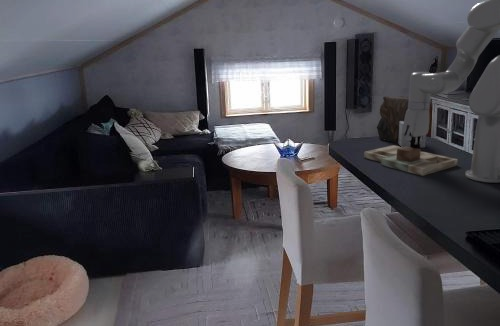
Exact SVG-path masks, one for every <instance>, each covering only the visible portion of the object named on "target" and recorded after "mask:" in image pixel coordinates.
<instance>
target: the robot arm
mask: <svg viewBox="0 0 500 326" xmlns="http://www.w3.org/2000/svg"><path fill="white" fill-rule="evenodd" d="M467 14H468V15H467V24H468V25H467V27H466V28H465V30H464V31H463V32H462V34H461V35H460V37H459V38H458V39H457V40H456V43H455V47H456V50H457V51H456V52H457V53H456V56H455V58H454V60H453V61H452V63H451V64H450V65H449V67H448V68H447V69H446V71H441V72H434V73H431V72H429V71H415V72H414V71H413V72H412V73H411V74H410V77H409V89H408V90H409V91H408V98H409V101H408V110H407V111H406V114H405V119H404V125H403V135H405V136H406V140H409V143H410V147H412V148H418V149H421V147H420V144H421V142H422V139H423V138H424V137H426V138H427V134H428V133H429V130H430V107H431V106H430V103H431V97H432V96H431V95H435V96H436V95H437V96H438V95H444V94H447V93H451V92H454V91H456V90H457V89H458V88H460V87H461V85H462V84H463V83H464V82H465V80H466V79H467V78H468V76H470V74H471V72H472V71H473V69H474V68H475V66H476V64H477V62H478V59H479V57H480V55H481V54H482V53H483V51H484V50H485V49H486V47H487V46H488V45H489V43H490V42H491V41H492V40H493V39H494V37H495V36H496V34H497V33H498V32H499V31H500V0H484V1H480V2H479V3H476V4H475V5H474V6H472V8H471V9H470V10H469V12H468V13H467ZM468 106H469V109H470V111H471V112H472V113H473V114H474V115H475V116H478V117H477V122H476V127H475V134H474V140H473V142H474V143H473V149H472V157H471V165H470V169H467V170H466V171H465V175H464V176H465V177H466V178H468V179H470V180H472V181H476V182H482V183H490V184H491V183H492V184H493V183H494V184H498V183H500V54H498V55H497V56H495V57H494V58H493V59H491V61H490V62H489V63H488V64H487V66H486V67H485V69H484V71H483V73H481V76H480V77H479V79H478V81H477V82H476V84H475V86H474V87H473V90H472V91H471V93H470V95H469V98H468Z"/></svg>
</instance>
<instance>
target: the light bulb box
mask: <svg viewBox="0 0 500 326" xmlns="http://www.w3.org/2000/svg"><path fill="white" fill-rule="evenodd" d="M403 125H404V121H399V138H398V142H397V145H398V144H399V145H400V146H401V147H406V146H407V147H410V143H409V140H406V136H405V135H403ZM426 140H427V136H426V137H424V138H423V139H422V142H421V144H420V148H426ZM399 145H398V146H399ZM400 146H399V147H400Z"/></svg>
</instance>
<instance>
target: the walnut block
mask: <svg viewBox="0 0 500 326" xmlns="http://www.w3.org/2000/svg"><path fill="white" fill-rule="evenodd" d="M421 150H422V149H421V148H420V149H418V148H412V147H407V146H406V147H402V148H399V149H397V158H396V159H398V160H402V161H407V162H413V161H417V160H420V152H421Z"/></svg>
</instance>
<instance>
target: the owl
mask: <svg viewBox="0 0 500 326" xmlns="http://www.w3.org/2000/svg"><path fill="white" fill-rule="evenodd" d="M382 98H383V99H382V100H383V102H382V103H381V105H380V107H379V115H380V119H379V120H378V124H377V126H376V129H377V134H378V139H379V138H380V139H379V140H382V139H385V140H384V141H386V140H389V141H393V142H392V143H394V142H397V143H398V138H399V121H404V119H405V114H406V111H407V110H408V101H409V97H404V96H383V97H382ZM389 141H388V142H389Z"/></svg>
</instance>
